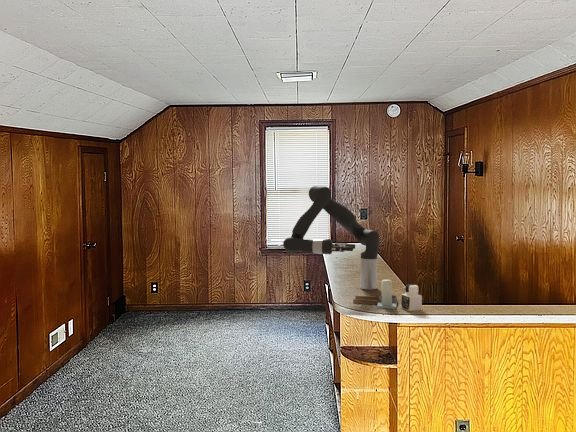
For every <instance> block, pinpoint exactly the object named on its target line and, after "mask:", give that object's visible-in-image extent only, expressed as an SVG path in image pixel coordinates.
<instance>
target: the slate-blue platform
mask: <svg viewBox="0 0 576 432" xmlns="http://www.w3.org/2000/svg"><path fill="white" fill-rule="evenodd" d="M397 304H398V303H392V305H390V306H384V305H382V303H380V302H379V301H378V302H377V304H376V308H377V309H390V310H396V309H397Z"/></svg>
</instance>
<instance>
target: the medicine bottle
mask: <svg viewBox="0 0 576 432" xmlns="http://www.w3.org/2000/svg"><path fill="white" fill-rule="evenodd" d="M422 304H423V296H422V295H421V294H419V285H417V284H416V283H415V284H414V283H413V284H411V283H410V284H409V283H408V284H406V285H405V293H401V309H403V310H404V311H407V312H415V311H416V312H417V311H422V310H423V305H422Z"/></svg>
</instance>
